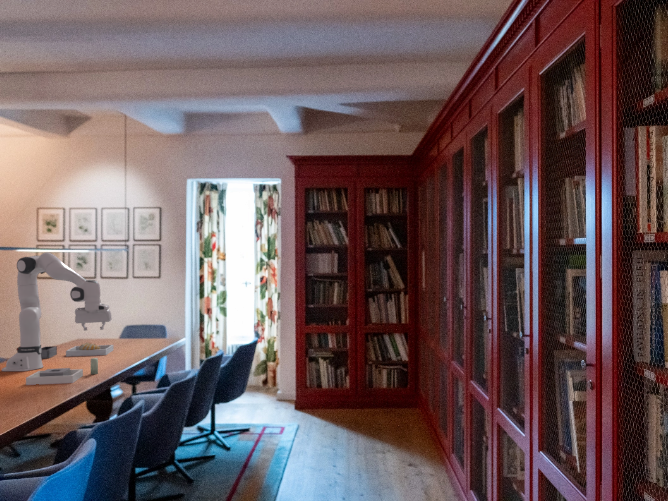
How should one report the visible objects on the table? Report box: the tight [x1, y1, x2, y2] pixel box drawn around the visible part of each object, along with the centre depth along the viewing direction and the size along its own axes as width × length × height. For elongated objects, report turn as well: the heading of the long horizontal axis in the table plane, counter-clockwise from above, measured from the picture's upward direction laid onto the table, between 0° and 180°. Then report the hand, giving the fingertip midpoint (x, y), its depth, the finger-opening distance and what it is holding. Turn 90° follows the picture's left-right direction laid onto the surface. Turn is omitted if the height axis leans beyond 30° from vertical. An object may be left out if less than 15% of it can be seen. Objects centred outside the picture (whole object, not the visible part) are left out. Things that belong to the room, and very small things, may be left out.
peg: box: [90, 357, 99, 376], centre depth 315 cm, size 4×4×9 cm
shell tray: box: [65, 344, 114, 357], centre depth 386 cm, size 27×21×4 cm
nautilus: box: [79, 342, 100, 350], centre depth 386 cm, size 8×21×15 cm
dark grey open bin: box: [41, 345, 58, 360], centre depth 374 cm, size 8×16×6 cm, turn 9°
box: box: [25, 367, 84, 386], centre depth 299 cm, size 24×18×6 cm
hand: (93, 330), depth 317 cm, fingers open, 8 cm apart
